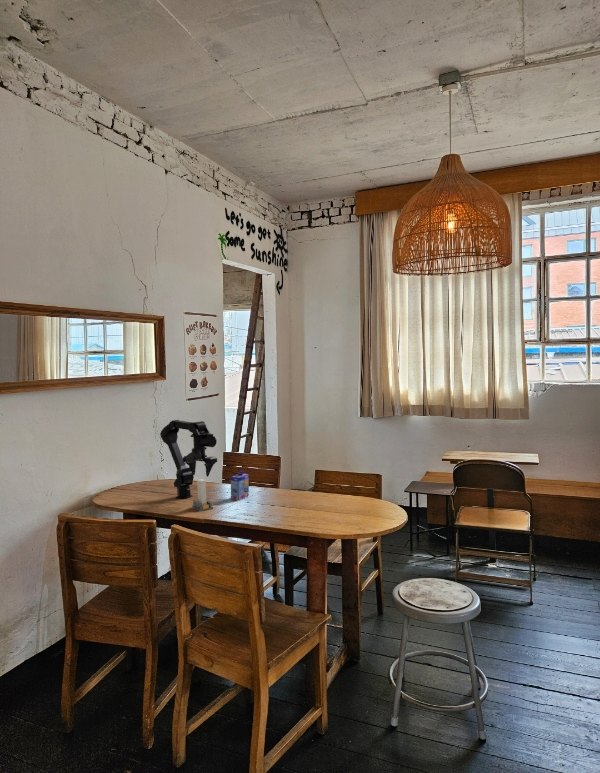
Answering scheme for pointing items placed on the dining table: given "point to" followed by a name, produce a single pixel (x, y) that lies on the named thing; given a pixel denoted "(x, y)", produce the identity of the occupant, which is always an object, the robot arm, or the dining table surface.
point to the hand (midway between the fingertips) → (200, 475)
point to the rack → (202, 506)
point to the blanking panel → (201, 491)
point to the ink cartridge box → (239, 486)
